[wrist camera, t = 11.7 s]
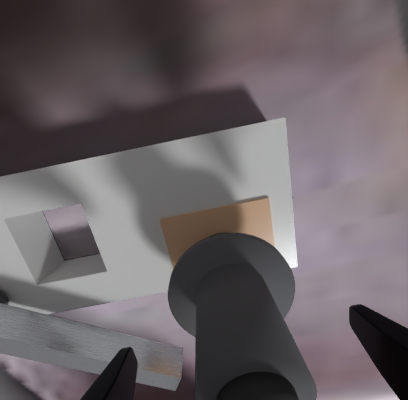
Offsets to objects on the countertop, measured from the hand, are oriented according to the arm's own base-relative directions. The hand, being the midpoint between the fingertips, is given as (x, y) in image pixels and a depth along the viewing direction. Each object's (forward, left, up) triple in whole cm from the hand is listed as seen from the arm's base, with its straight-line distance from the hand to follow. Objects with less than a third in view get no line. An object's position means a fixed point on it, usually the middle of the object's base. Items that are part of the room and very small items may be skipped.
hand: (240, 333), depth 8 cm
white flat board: (+3, +8, -9) cm, 12 cm away
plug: (0, 0, -6) cm, 6 cm away
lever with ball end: (-3, +11, -6) cm, 12 cm away
